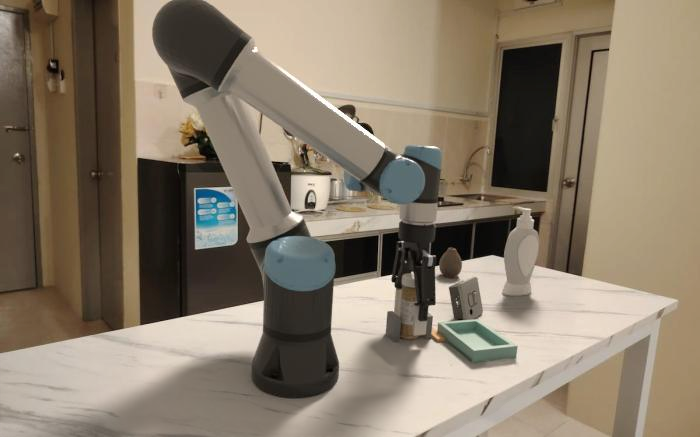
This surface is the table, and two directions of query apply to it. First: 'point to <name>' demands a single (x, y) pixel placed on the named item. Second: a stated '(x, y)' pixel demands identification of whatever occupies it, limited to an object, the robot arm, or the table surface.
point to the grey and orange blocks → (395, 323)
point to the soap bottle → (520, 255)
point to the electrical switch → (466, 299)
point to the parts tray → (477, 340)
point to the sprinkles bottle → (407, 306)
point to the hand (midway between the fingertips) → (409, 325)
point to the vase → (450, 263)
